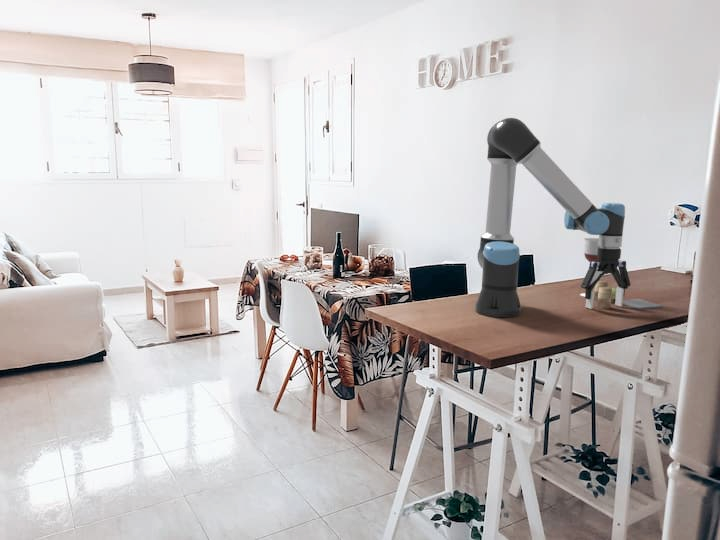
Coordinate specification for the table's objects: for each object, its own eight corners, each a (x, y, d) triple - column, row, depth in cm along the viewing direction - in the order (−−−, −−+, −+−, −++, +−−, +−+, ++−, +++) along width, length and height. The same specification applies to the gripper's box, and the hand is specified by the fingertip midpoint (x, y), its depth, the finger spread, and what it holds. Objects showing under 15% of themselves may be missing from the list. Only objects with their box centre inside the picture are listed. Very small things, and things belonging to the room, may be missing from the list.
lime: (614, 301, 211) (615, 289, 210) (605, 298, 215) (606, 286, 214) (623, 300, 212) (625, 288, 212) (614, 297, 217) (616, 286, 216)
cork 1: (599, 301, 210) (600, 283, 209) (590, 298, 214) (592, 281, 213) (608, 300, 212) (610, 282, 210) (600, 298, 216) (602, 280, 214)
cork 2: (603, 309, 199) (605, 289, 197) (594, 306, 203) (596, 287, 201) (613, 308, 200) (615, 289, 199) (604, 305, 204) (606, 286, 203)
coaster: (637, 309, 199) (638, 307, 199) (614, 302, 210) (615, 300, 210) (662, 307, 203) (662, 305, 203) (638, 300, 213) (638, 298, 213)
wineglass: (598, 293, 224) (604, 238, 220) (606, 298, 215) (612, 241, 211) (576, 292, 225) (581, 237, 221) (583, 297, 216) (588, 240, 212)
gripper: (588, 250, 190) (582, 311, 194) (645, 247, 198) (639, 307, 202) (573, 246, 197) (568, 306, 201) (629, 244, 205) (623, 302, 209)
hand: (603, 306), depth 201 cm, fingers open, 12 cm apart
